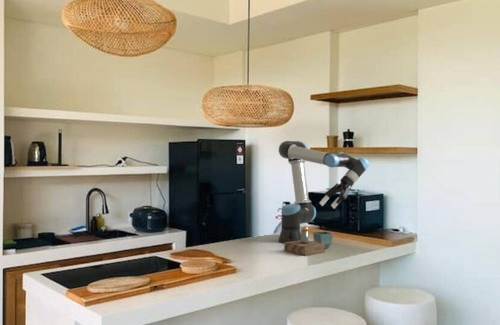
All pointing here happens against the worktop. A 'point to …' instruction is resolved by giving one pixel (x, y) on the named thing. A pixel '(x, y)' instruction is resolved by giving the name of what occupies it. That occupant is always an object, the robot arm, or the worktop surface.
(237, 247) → the worktop surface
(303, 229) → the metal pin
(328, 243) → the flower pot
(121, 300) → the worktop surface
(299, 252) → the block
